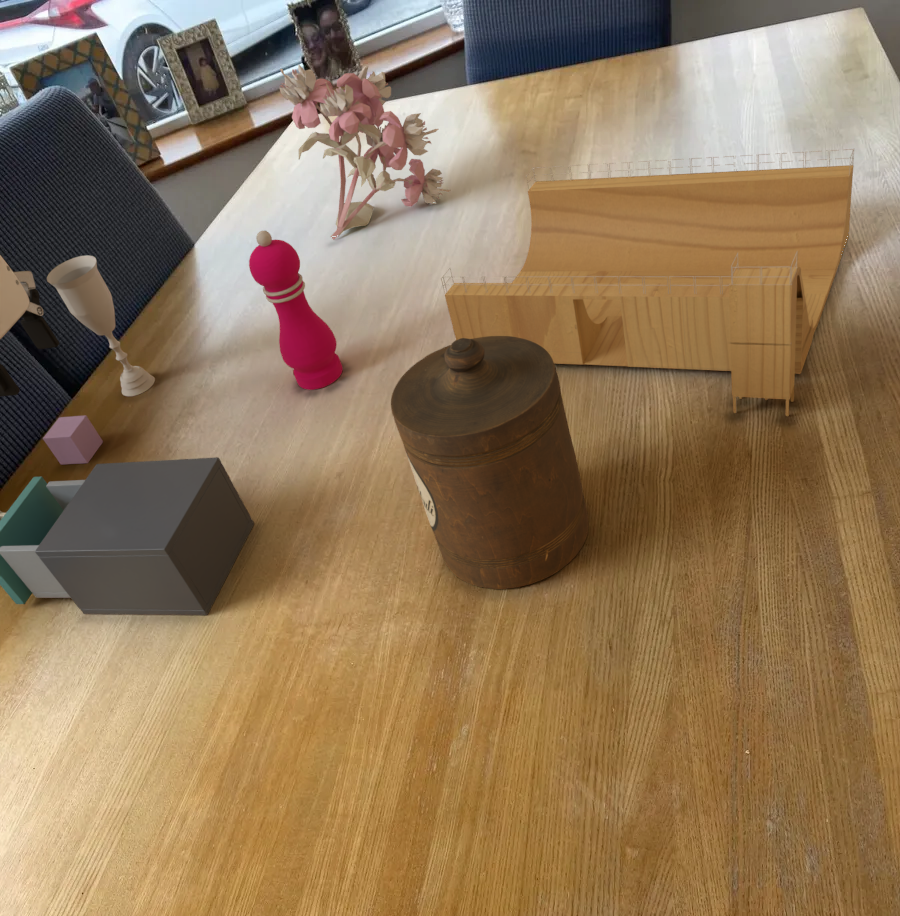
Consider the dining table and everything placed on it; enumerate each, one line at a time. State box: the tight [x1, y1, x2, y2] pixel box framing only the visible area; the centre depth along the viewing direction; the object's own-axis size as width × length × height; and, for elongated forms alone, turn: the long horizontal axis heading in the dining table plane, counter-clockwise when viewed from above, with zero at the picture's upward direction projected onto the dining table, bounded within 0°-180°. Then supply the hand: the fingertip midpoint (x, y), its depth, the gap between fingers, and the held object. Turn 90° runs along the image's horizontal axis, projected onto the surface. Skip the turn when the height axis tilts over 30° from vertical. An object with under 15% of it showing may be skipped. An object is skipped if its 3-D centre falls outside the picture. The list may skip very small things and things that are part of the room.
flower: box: [279, 64, 451, 241], centre depth 145 cm, size 20×22×25 cm
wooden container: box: [390, 336, 590, 590], centre depth 85 cm, size 15×15×22 cm
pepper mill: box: [248, 230, 343, 391], centre depth 116 cm, size 7×7×20 cm
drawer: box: [0, 476, 86, 605], centre depth 104 cm, size 21×12×8 cm, turn 77°
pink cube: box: [42, 414, 104, 465], centre depth 123 cm, size 4×4×4 cm
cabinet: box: [35, 456, 255, 616], centre depth 100 cm, size 16×14×10 cm
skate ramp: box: [440, 148, 855, 417], centre depth 108 cm, size 40×35×16 cm
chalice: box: [46, 255, 156, 397], centre depth 127 cm, size 7×7×18 cm
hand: (29, 369), depth 116 cm, fingers open, 9 cm apart
